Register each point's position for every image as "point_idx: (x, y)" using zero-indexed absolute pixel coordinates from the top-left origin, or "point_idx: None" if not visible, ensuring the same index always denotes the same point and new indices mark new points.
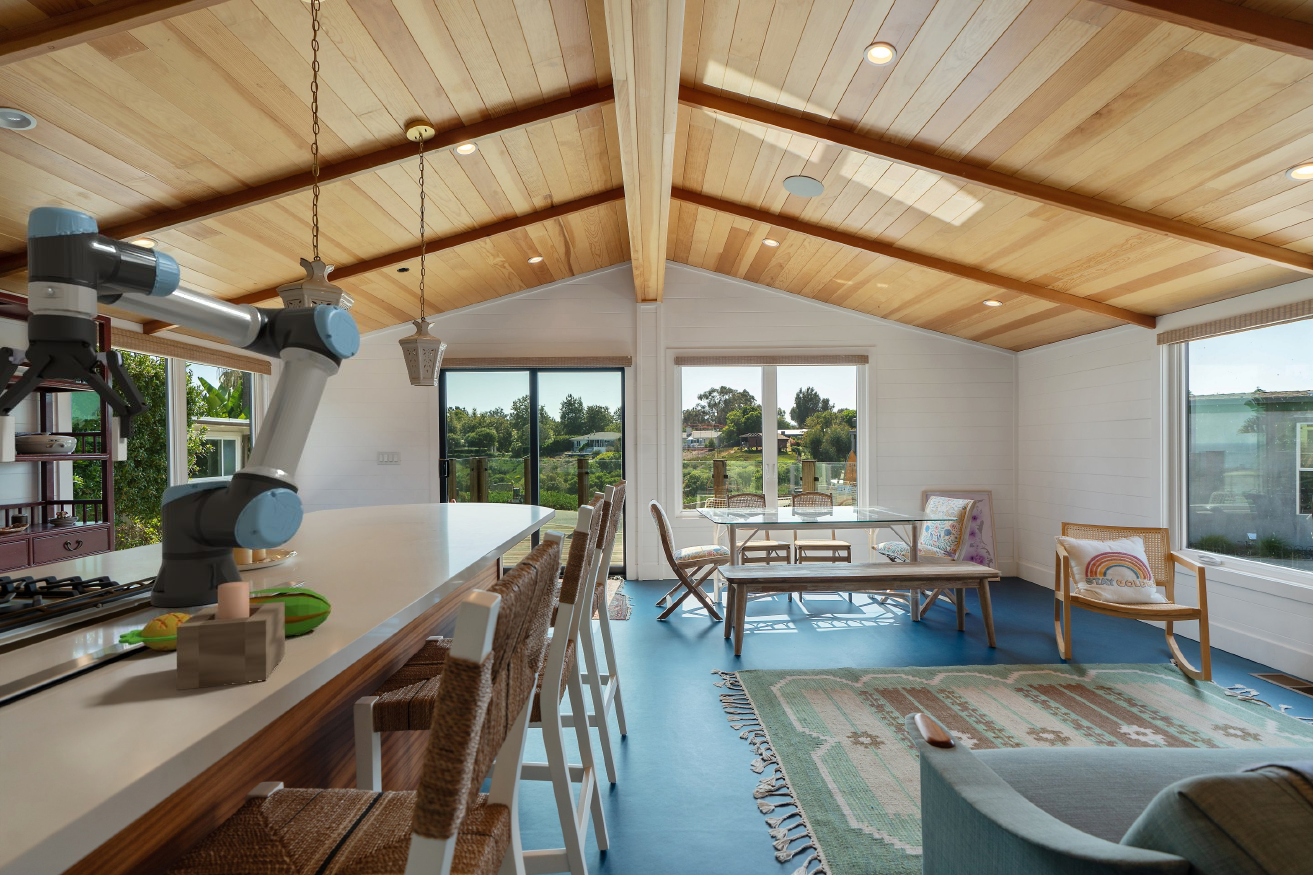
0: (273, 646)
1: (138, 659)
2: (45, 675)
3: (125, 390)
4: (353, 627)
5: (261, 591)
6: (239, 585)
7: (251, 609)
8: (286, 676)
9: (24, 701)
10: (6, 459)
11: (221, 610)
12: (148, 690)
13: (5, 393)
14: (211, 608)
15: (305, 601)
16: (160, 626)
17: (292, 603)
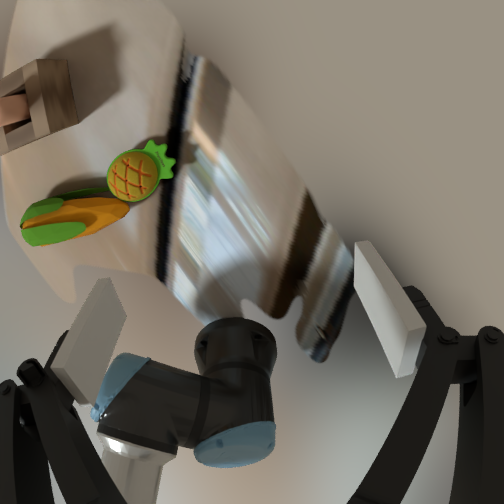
0: None
1: (149, 139)
2: (211, 98)
3: (5, 445)
4: None
5: (58, 227)
6: None
7: (11, 131)
8: None
9: (178, 33)
10: (356, 259)
11: (13, 96)
12: (87, 57)
13: (437, 409)
14: (42, 128)
15: (24, 216)
16: (128, 160)
17: (31, 210)
